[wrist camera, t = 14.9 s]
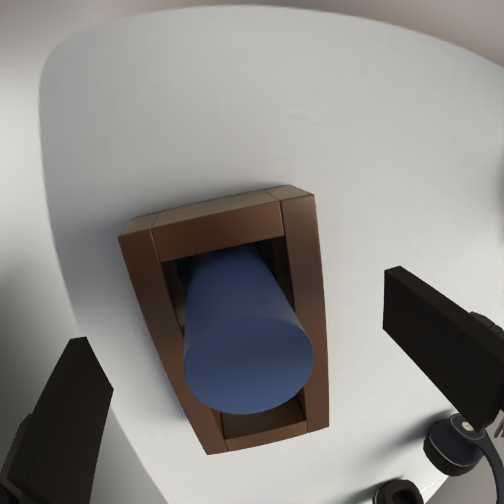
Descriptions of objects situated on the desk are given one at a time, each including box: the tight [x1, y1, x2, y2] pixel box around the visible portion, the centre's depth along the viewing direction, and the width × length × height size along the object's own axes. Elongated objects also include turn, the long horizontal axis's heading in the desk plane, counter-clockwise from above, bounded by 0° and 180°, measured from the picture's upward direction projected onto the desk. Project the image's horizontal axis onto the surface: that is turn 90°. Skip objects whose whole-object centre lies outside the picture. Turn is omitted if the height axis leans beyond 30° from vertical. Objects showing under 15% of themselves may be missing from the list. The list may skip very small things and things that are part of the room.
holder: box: [118, 185, 329, 455], centre depth 16 cm, size 8×15×4 cm, turn 10°
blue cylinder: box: [183, 243, 314, 414], centre depth 13 cm, size 4×4×8 cm
